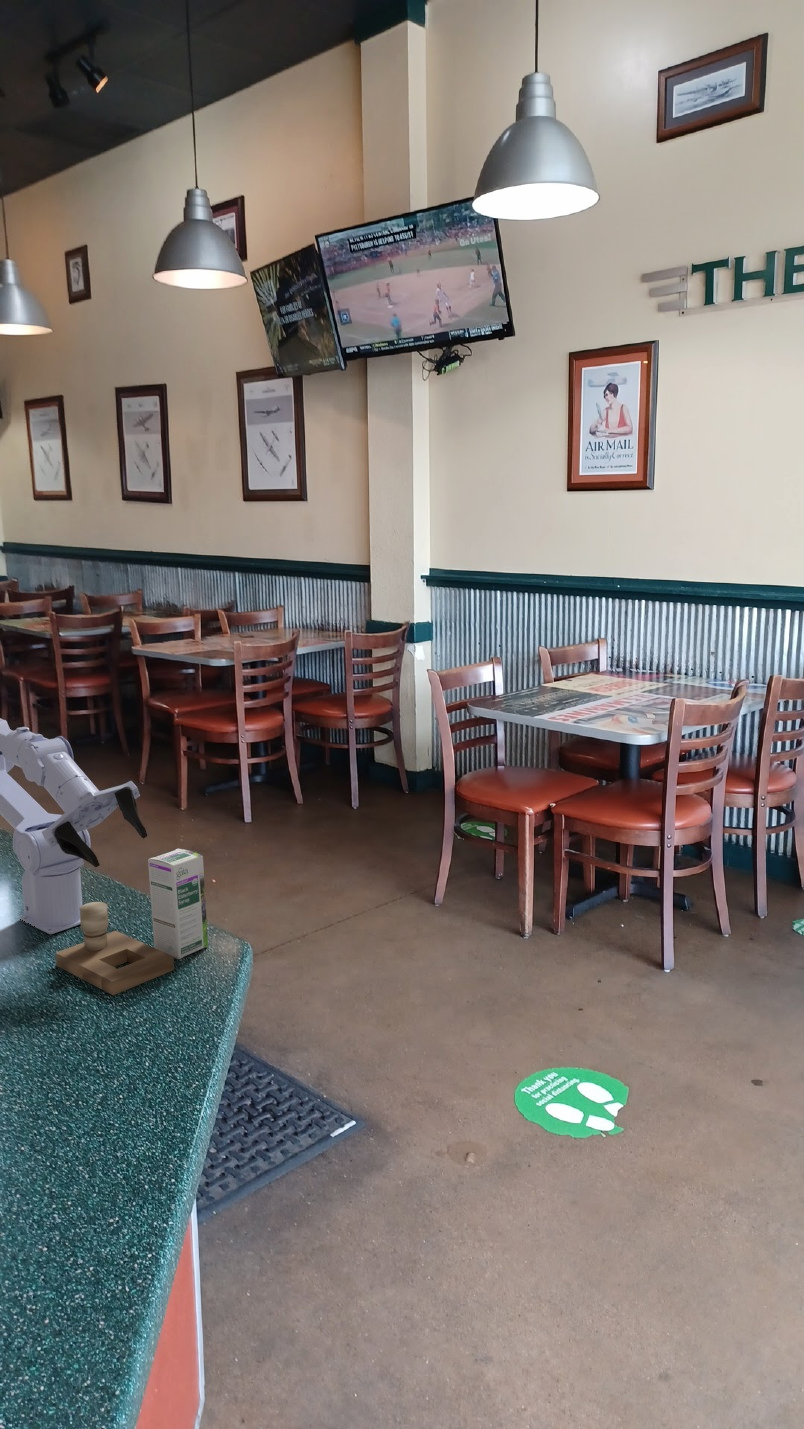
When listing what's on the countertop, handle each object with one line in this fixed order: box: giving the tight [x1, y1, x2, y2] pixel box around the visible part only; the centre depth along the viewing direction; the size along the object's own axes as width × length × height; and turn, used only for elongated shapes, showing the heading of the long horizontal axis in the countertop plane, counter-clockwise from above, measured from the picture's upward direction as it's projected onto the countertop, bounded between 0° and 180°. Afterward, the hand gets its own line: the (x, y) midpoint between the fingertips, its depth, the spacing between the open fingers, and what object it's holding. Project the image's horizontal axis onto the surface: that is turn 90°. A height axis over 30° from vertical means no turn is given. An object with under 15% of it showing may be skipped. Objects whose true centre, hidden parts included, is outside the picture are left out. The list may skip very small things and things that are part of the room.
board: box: [55, 930, 175, 996], centre depth 143 cm, size 14×10×2 cm
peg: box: [80, 901, 109, 951], centre depth 145 cm, size 4×4×6 cm
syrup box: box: [147, 848, 209, 960], centre depth 147 cm, size 6×6×14 cm
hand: (120, 847), depth 142 cm, fingers open, 7 cm apart
